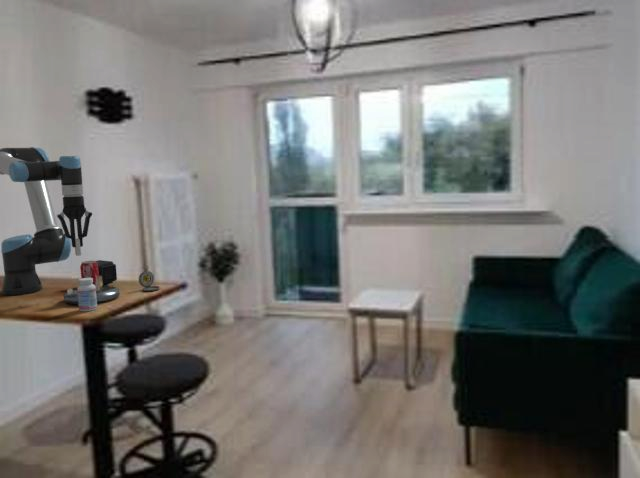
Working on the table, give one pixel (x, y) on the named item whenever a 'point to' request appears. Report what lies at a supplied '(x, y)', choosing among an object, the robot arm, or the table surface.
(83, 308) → the pill bottle
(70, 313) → the table surface
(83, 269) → the beverage can
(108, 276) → the camera
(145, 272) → the pocket watch
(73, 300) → the turntable
